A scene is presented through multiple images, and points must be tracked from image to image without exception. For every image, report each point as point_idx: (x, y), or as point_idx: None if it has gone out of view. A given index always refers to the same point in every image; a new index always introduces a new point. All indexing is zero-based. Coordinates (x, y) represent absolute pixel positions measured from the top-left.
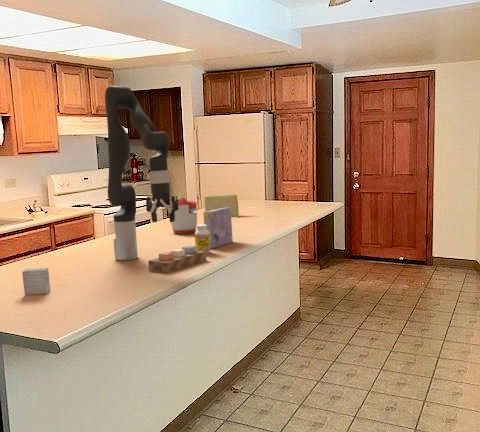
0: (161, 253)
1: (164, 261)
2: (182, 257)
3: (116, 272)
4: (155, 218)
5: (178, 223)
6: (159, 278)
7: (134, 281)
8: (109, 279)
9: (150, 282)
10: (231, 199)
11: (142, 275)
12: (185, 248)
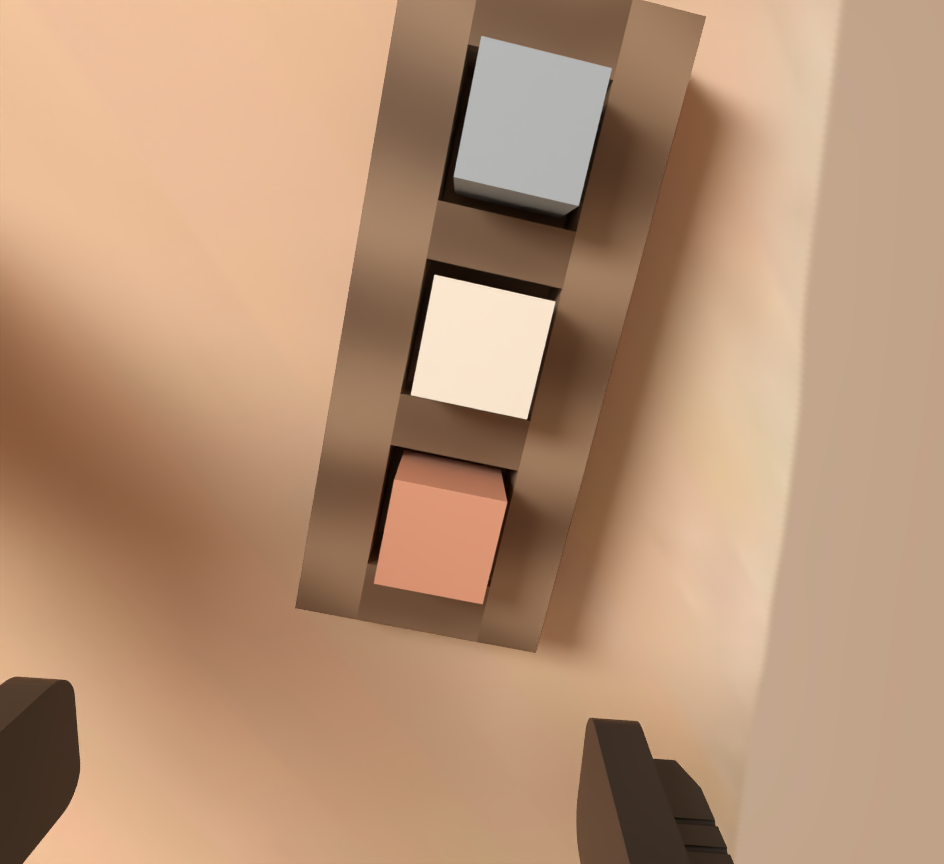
0: (396, 561)
1: None
2: (574, 404)
3: (88, 683)
4: (8, 800)
5: None
6: (552, 742)
7: (415, 846)
8: (195, 849)
9: (546, 838)
10: None
11: (367, 706)
12: (511, 192)
